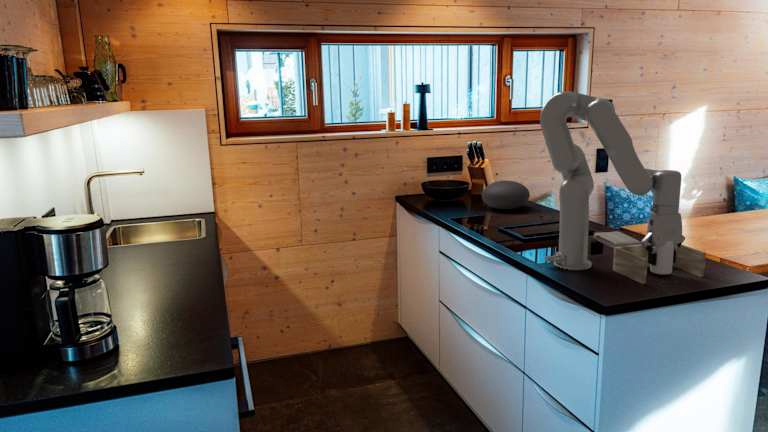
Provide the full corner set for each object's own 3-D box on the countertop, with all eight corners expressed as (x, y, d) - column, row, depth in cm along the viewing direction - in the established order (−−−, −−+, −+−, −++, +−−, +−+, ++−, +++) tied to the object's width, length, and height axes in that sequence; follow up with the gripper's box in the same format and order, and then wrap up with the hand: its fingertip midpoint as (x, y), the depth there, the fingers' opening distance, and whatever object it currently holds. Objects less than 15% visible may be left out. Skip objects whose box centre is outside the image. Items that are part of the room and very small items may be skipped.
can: (674, 275, 177) (677, 239, 175) (652, 274, 179) (655, 238, 176) (668, 269, 184) (671, 234, 181) (647, 268, 185) (649, 233, 182)
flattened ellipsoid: (473, 211, 289) (473, 183, 286) (493, 202, 309) (493, 176, 306) (518, 215, 275) (519, 185, 272) (536, 206, 295) (537, 178, 292)
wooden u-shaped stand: (642, 284, 173) (644, 259, 172) (612, 269, 188) (613, 247, 186) (703, 276, 178) (705, 252, 176) (670, 263, 193) (671, 241, 191)
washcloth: (617, 236, 232) (617, 229, 231) (642, 247, 215) (643, 239, 214) (590, 238, 230) (591, 231, 230) (614, 249, 213) (614, 242, 212)
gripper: (649, 213, 171) (646, 269, 175) (697, 209, 175) (692, 263, 179) (633, 209, 178) (630, 262, 182) (680, 205, 182) (675, 257, 186)
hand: (661, 262), depth 180 cm, fingers closed on can, 6 cm apart
